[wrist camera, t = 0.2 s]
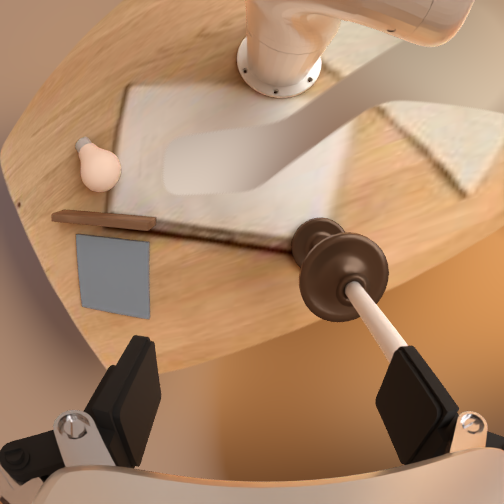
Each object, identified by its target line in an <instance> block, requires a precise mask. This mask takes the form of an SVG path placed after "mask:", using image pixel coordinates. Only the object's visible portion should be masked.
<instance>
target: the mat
mask: <svg viewBox="0 0 504 504" xmlns="http://www.w3.org/2000/svg"><path fill="white" fill-rule="evenodd" d="M76 246H77V262H78V274H79V284H80V293H81V301H82V307H86V308H91V309H96V310H101V311H106V312H111V313H116V314H122V315H127V316H133V317H138V318H144V319H150V298H149V242H145V241H137V240H128V239H119V238H110V237H101V236H93V235H84V234H76Z"/></svg>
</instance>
